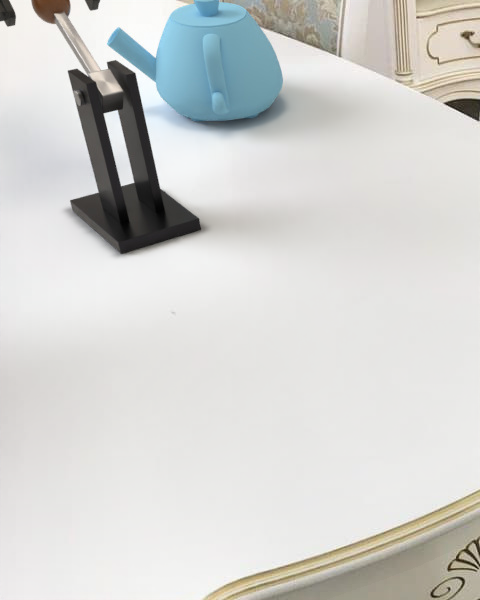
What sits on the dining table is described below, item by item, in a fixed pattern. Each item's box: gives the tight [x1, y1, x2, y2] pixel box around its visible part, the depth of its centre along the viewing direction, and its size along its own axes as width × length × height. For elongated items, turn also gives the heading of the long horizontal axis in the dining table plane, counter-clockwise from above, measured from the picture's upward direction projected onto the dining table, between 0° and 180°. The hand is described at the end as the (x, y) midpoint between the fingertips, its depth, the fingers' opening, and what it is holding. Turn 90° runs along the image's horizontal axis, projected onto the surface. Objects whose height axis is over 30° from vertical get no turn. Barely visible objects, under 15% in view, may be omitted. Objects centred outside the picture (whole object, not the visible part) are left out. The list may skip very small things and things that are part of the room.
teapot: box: [106, 0, 284, 123], centre depth 134 cm, size 20×20×13 cm
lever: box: [30, 0, 123, 114], centre depth 108 cm, size 14×4×4 cm, turn 38°
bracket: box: [67, 59, 202, 254], centre depth 112 cm, size 12×9×15 cm
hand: (54, 13), depth 109 cm, fingers open, 8 cm apart
